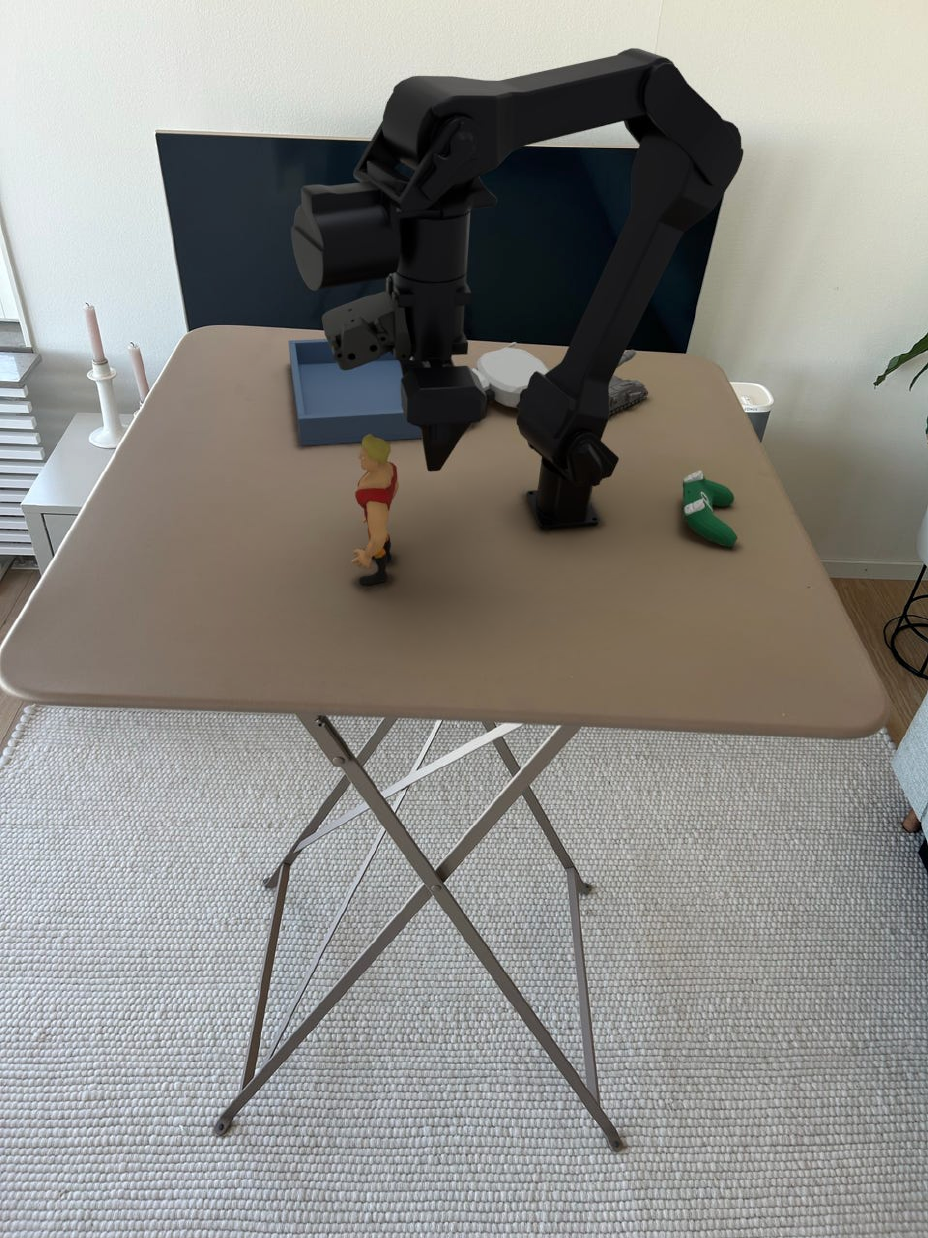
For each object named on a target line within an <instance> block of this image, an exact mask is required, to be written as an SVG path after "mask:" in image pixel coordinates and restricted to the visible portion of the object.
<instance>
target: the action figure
mask: <svg viewBox="0 0 928 1238" xmlns="http://www.w3.org/2000/svg"><path fill="white" fill-rule="evenodd" d="M391 450H392V447H391V445H390V443H389V442H387V440H386V441H384V440H383V439H379V438H375V437H373V436H372V435H371V434H369V435H367V436H365V437H364V439H363V440H362V442H361V449H360V452H359V455H358V459H359V460H360V468H361V469H362V470H364V471H366V472H365V473H364V474H363V475H362V476H361V478H360V479H359V480H358V482H357V490H356V491H355V492H354V496H355V500H356V503H357V504H358V505H359V506H360V507H361V508H362V509H363V513H364V518H363V520H362V523H363V524H366V525H367V535H368V541H369V542H368V544H367V546H366V547H365V550H364V549H361V548H356V549H355V550H353V553H354V555H357V556H356V557H355V558H354V559H352V560H351V561H350V563H351V564H355V563H356V562H358V563H357V567H358V568H361V565H362V568H363V569H367V570H370V569H371V564H372V560H374V562H375V564H376V566H377V571H376V572H375V573H373V574H369V575H364V576H360V577H359V579H358V582H359V584H360V585H362V586H368V585H374V584H378V583H383V582H386V581H387V580H388V577H389V575H388V573H387V571H386V570H387V565H388V562H389V563H390V562H392V559H393V555H392V554H391V549H392V548H391V547H392V541H391V537H390V535H389V533H388V531H387V525H388V521H389V517H390V508H391V505H392V502H393V500H394V499H395V497H396V495H397V493H398V491H399V488H400V482H399V481H398V480H399V478H398V477H399V476H398V468H397V466H396V465H395V464H394V463H393V462H391V461H388V459H389V456H390V454H391Z"/></svg>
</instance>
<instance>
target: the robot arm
mask: <svg viewBox="0 0 928 1238" xmlns="http://www.w3.org/2000/svg"><path fill="white" fill-rule="evenodd" d="M621 122H623V125H624V127H625V128H626V130H627V131H628V133H629V134H630V135H631V137H632V138H633V139H634V140H635V141H636V143H637V144H638V148H637V152H636V155H635V157H634V161H633V164H632V168H631V172H630V174H631V175H630V176H631V179H630V181H631V183H630V184H631V190H630V191H631V209H630V212H629V214H628V217H627V219H626V221H625V223H624V226H623V227H622V229H621V232H620V235H619V236H618V238H617V241H616V243H615V245H614V248H613V249H612V251H611V254H610V256H609V258H608V260H607V263H606V265H605V267H604V269H603V271H602V274H601V276H600V278H599V280H598V282H597V284H596V287H595V289H594V291H593V293H592V295H591V298H590V300H589V302H588V303H587V306H586V308H585V311H584V312H583V315H582V317H581V319H580V322H579V324H578V326H577V328H576V331H575V332H574V334H573V337H572V339H571V341H570V343H569V345H568V347H567V350H566V352H565V354H564V356H563V358H562V360H561V361H560V362H559V363H558V364H557V365H555V366H554V367H552V368H551V369H550V370H549V372H547V373H546V374H542V373H540V372H538V371H536V372H534V373H533V374H532V376H531V377H530V379H529V383H528V386H527V389H526V392H525V394H524V396H523V397H522V399H521V400H520V401H519V403H518V404H517V405H516V407H517V408H516V409H517V410H519V411H518V413H517V416H516V426H517V428H518V431H519V434H520V436H522V438H523V439H525V440H526V442H527V445H528V447H529V448H530V450H533V451H535V452H536V453H537V454H538V455H539V456H540V457H541V460H540V468H539V474H538V475H539V476H538V485H537V489H533V490H527V491H526V493H525V497H526V499H527V502H528V504H529V506H530V508H531V511H532V513H533V515H534V517H535V520H536V522H537V525H538V527H539V528H540V530H541V529H542V530H554V529H567V528H576V527H578V528H579V527H588V526H589V527H590V526H597V525H599V522H600V518H599V516H598V514H597V513H596V511H595V509H594V507H593V505H592V503H591V499H592V493H593V488H594V487H597V486H600V484H601V482H602V481H603V480H604V479H607V478H610V477H611V476H612V475H613V473H614V471H615V469H616V467H617V465H618V462H619V460H620V459H619V456H618V455H617V454H616V453H614V451H612V450H611V448H609V447H608V446H607V445H606V444H605V443H604V442H603V441H602V438H603V437H604V436H603V435H604V433H605V430H606V428H607V425H608V422H609V419H610V415H609V383H610V380H611V378H612V376H613V375H615V372H616V370H617V369H618V368H617V366H618V364H619V362H620V360H621V358H622V356H623V354H625V353H626V349H627V347H628V346H629V343H630V341H631V339H632V337H633V335H634V334H635V331H636V329H637V328H638V325H639V323H640V321H641V319H642V317H643V315H644V313H645V311H646V309H647V307H648V305H649V303H650V301H651V298H652V296H653V295H654V293H655V290H656V288H657V286H658V284H659V283H660V280H661V278H662V276H663V274H664V272H665V270H666V268H667V266H668V264H669V262H670V260H671V258H672V256H673V254H674V252H675V250H676V247H677V245H678V244H679V242H680V240H681V238H682V236H683V235H684V233H685V232H686V231H688V230H689V229H690V228H692V227H693V226H695V225H696V224H697V223H698V222H699V221H701V220H702V219H704V218H705V217H706V216H708V215H709V214H710V213H711V212H713V210H715V208H716V207H717V205H718V204H719V202H720V200H721V199H722V197H723V196H724V194H725V193H726V191H727V190H728V188H729V187H730V185H731V183H732V181H733V180H734V178H735V177H736V175H737V173H738V171H739V169H740V166H741V164H742V161H743V156H744V151H745V150H744V149H743V148H742V136H741V133H740V129H739V127H737V126H736V125H735V124H734V123H733V122H731V121H728V120H726V119H723V117H722V116H721V114H720V113H718V111H716V110H715V108H713V106H712V105H711V104H710V103H709V102H708V101H707V100H706V99H704V98H703V97H702V96H701V95H700V94H699V93H698V92H697V90H695V89H694V88H693V87H692V86H691V85H690V84H689V83H688V82H687V80H686V79H685V77H684V76H683V74H682V73H681V71H680V69H679V68H678V67H677V66H676V65H675V63H674V62H673V61H672V60H671V59H669V58H668V57H665V56H662V55H659V54H657V53H653V52H650V51H648V50H644V49H641V48H639V47H636V48H635V47H631V48H627V49H624V50H623V51H621V52H619V53H617V54H615V55H611V56H610V55H609V56H606V57H601V58H596V59H593V60H587V61H583V62H579V63H578V62H577V63H573V64H568V65H565V66H559V67H556V68H551V69H547V70H542V71H537V72H532V73H528V74H524V75H519V76H514V77H511V78H505V79H501V80H489V79H487V80H486V79H485V80H484V79H477V78H469V77H462V76H461V77H460V76H453V75H451V76H450V75H412V76H410V77H407V78H405V79H403V80H401V81H399V82H398V83H397V84H395V86H393V89H392V93H391V95H390V96H389V98H388V99H387V101H386V104H385V107H384V111H383V114H382V121H381V122H380V124H379V126H378V128H377V129H376V131H375V133H374V134H373V136H372V138H371V140H370V142H369V144H368V145H367V147H366V148H365V150H364V152H363V154H362V155H361V158H360V159H359V161H358V163H357V164H356V167H355V168H354V170H353V171H352V172H353V173H352V174H353V178H354V179H355V180H357V181H358V182H353V183H352V182H351V183H343V184H335V185H325V184H308V185H303V186H302V187H301V188H300V194H301V196H300V197H301V204H299V205H298V206H297V208H296V209H295V212H294V218H293V226H291V227H290V233H291V234H290V235H291V237H290V238H291V243H292V249H293V254H294V255H293V256H294V258H295V262H296V266H297V268H298V271H299V274H300V276H301V278H302V280H303V282H304V283H305V285H306V286H307V288H309V289H310V290H311V291H314V292H316V291H321V290H328V289H333V288H340V287H346V286H351V285H357V284H358V285H359V284H363V283H368V282H369V283H370V282H375V281H381V280H382V281H383V280H385V291H382V292H378V293H375V294H371V295H366V296H363V297H360V298H357V299H354V300H352V301H350V302H347V303H344V304H342V305H340V306H337V307H334V308H331V309H329V310H328V311H326V312H325V313H324V314H322V316H321V324H322V327H323V332H324V336H325V339H327V341H328V343H329V345H330V347H331V350H332V352H333V355H334V358H335V360H336V361H337V363H338V365H339V368H340V369H341V370H351V369H354V368H356V367H359V366H362V365H364V364H367V363H369V362H372V361H375V360H377V359H379V358H380V356H381V355H384V354H386V353H388V352H390V353H391V354H393V355H394V358H395V360H399V361H400V366H401V371H402V376H403V378H402V379H401V400H402V403H401V405H402V408H403V412H404V415H405V418H406V420H407V422H409V423H410V424H411V425H414V426H418V427H420V431H421V437H422V438H421V442H422V448H423V453H424V459H425V465H426V469H427V471H428V472H440V471H441V470H442V468H443V467H444V465H445V464H446V462H447V461H448V459H449V457H450V455H451V454H452V452H453V451H454V449H455V448H456V446H457V445H458V443H459V442H460V440H461V439H462V438H463V436H464V434H466V432H467V431H468V429H469V428H470V427H471V426H472V424H476V423H480V422H481V421H483V420H484V419H485V418H486V411H487V404H486V401H487V396H486V393H485V391H484V389H483V387H482V384H481V382H480V380H479V378H478V376H477V375H476V374H475V373H474V372H473V371H472V370H471V369H472V368H471V367H470V366H468V365H455V362H454V359H453V356H460V355H461V356H464V355H468V353H469V351H468V350H469V341H468V339H467V337H466V335H465V332H464V324H465V323H464V322H465V319H464V318H465V306H466V307H467V306H468V307H469V306H471V304H472V291H471V290H470V287H469V285H468V283H467V273H468V256H469V255H468V253H469V241H470V224H471V223H470V220H471V211H472V210H479V209H486V208H493V207H495V206H496V205H497V202H498V198H497V197H496V196H495V194H493V193H492V192H491V191H490V190H489V189H488V188H487V187H486V186H485V184H484V182H483V181H482V179H481V176H482V175H484V174H486V173H489V172H491V171H493V170H495V169H496V168H498V167H499V166H500V164H502V163H503V162H504V160H505V159H506V158H507V157H508V156H509V155H510V154H511V153H513V152H515V151H517V150H519V149H521V148H523V147H525V146H529V145H533V144H537V143H541V142H546V141H551V140H553V139H558V138H561V137H565V136H571V135H573V134H577V133H582V132H585V131H590V130H593V129H594V130H595V129H598V128H601V127H605V126H609V125H613V124H617V123H621ZM400 163H402V164H404V165H406V166H407V167H409V168H410V169H412V170H414V172H413V175H412V177H409V176H407V175H406V174H404V173H403V172H401V171H399V170H398V169H396V167H397V166H398V165H399V164H400Z"/></svg>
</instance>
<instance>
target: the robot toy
mask: <svg viewBox="0 0 928 1238" xmlns="http://www.w3.org/2000/svg"><path fill="white" fill-rule="evenodd" d="M517 344H518V343H517V342H516V341H513V342H511V343H510V344H509V345H507V346H505V347H503V348H501V349H498V350H493V351H489V352H485V353H484V354H482V355H481V356H480V357H479V358H478V359H477V362H476V368H475V367H474V368H470V369H471V370H472V371H473V372H474V373H475V374H476V375H477V376H478V378H479V380H480V382H481V384H482V387H483V389H484V391H485V393H486V396H487V401H486V405H489V404H491V403H492V402H494V401H496V402H497V403H499V404H501V405H503V406H504V407H508V408H509V407H510V408H515V409H518V408H517V407H516V405H517V404H518V403H519V401H520V400H521V399H522V397H523V396H524V394H525V392H526V389H527V386H528V383H529V379H530V377H531V376H532V374H533V373H534V372H536V371H538V372H540V373H542V374H546V373H547V372H549V371H550V370H549V368H548V367H547V366H546V365H545V363H544V362H543V361H542V360H541V359H539V358H538V357H536V356H534V355H533V354H531V353H529V352H527V351H525V350H523V349H521V348H515V347H516V345H517Z"/></svg>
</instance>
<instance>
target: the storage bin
mask: <svg viewBox="0 0 928 1238" xmlns="http://www.w3.org/2000/svg"><path fill="white" fill-rule="evenodd" d="M288 352H289V362H290V371H291V379H292V389H293V396H294V405H295V413H296V419H297V427H298V436H299V443H300V447H305V446H321V445H322V446H323V445H339V444H353V443H362V440H363V439H364V437H365V436H367V435H369V434H371V435H372V436H373V437H375V438H379V439H383V440H384V441H386V442H387V441H399V440H401V441H402V440H416V439H422V437H421V431H420V427H418V426H414V425H411V424H410V423H409V422H407V420H406V418H405V415H404V412H403V408H402V405H401V403H402V400H401V379H402V378H403V376H402V371H401V366H400V361H399V360H395V358H394V355H393V354H391V353H390V352H388V353H386V354H384V355H381V356H380V358H379V359H377V360H375V361H372V362H369V363H367V364H364V365H362V366H359V367H356V368H354V369H351V370H341V369H340V368H339V365H338V363H337V361H336V360H335V358H334V355H333V352H332V350H331V347H330V345H329V343H328V341H327V338H317V339H316V338H315V339H292V340H288Z"/></svg>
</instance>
